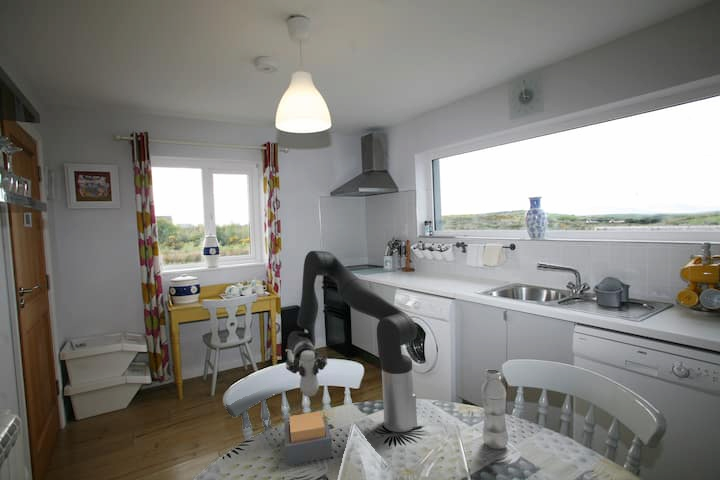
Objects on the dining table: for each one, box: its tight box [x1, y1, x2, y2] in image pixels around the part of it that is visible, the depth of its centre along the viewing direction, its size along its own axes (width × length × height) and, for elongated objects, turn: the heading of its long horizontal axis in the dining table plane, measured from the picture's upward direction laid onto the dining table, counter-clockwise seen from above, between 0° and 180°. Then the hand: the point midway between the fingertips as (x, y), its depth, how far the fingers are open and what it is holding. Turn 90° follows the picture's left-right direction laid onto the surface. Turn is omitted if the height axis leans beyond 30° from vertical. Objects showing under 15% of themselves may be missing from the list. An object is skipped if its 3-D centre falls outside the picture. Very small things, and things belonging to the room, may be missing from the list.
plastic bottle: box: [480, 368, 509, 450], centre depth 99 cm, size 6×7×20 cm
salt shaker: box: [299, 350, 320, 397], centre depth 113 cm, size 6×6×13 cm
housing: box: [283, 416, 333, 466], centre depth 102 cm, size 12×12×5 cm
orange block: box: [289, 411, 325, 443], centre depth 102 cm, size 9×9×4 cm
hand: (309, 372), depth 110 cm, fingers closed on salt shaker, 3 cm apart
